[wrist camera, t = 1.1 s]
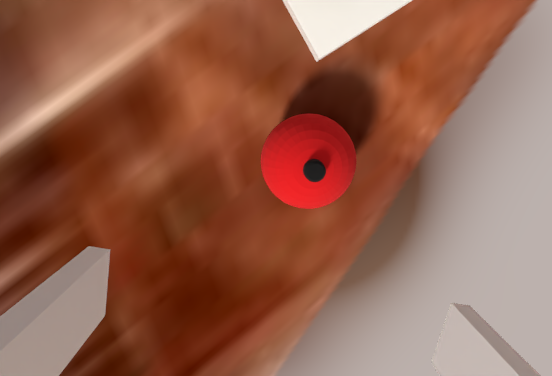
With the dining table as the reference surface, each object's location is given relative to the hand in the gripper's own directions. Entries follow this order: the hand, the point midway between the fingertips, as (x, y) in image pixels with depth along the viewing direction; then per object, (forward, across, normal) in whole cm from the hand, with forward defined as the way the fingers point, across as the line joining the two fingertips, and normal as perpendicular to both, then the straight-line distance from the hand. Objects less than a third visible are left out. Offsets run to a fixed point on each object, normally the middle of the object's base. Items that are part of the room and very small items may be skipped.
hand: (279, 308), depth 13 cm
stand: (+25, +6, +24) cm, 35 cm away
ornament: (+25, +3, +3) cm, 26 cm away
